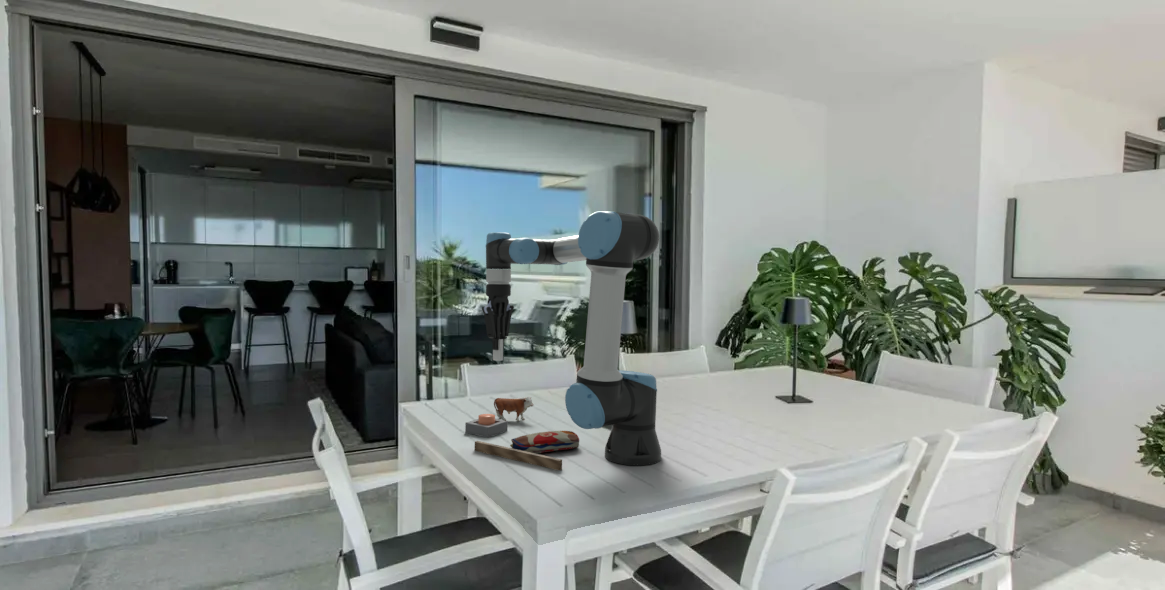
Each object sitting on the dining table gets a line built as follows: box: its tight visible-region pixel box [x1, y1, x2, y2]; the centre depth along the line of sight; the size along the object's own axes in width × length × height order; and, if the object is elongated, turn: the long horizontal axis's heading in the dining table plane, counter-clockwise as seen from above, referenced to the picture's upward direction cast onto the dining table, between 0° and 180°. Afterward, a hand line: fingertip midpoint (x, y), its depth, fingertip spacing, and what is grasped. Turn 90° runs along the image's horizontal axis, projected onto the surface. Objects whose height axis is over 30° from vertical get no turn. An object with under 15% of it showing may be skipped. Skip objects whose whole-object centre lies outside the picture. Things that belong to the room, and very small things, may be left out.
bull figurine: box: [493, 396, 535, 422], centre depth 203 cm, size 4×13×8 cm, turn 81°
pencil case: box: [509, 430, 580, 454], centre depth 170 cm, size 11×20×5 cm, turn 102°
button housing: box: [464, 418, 509, 438], centre depth 188 cm, size 9×9×3 cm
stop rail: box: [474, 440, 563, 471], centre depth 162 cm, size 28×1×2 cm, turn 58°
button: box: [477, 413, 496, 425], centre depth 188 cm, size 5×5×4 cm
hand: (497, 360), depth 189 cm, fingers closed
